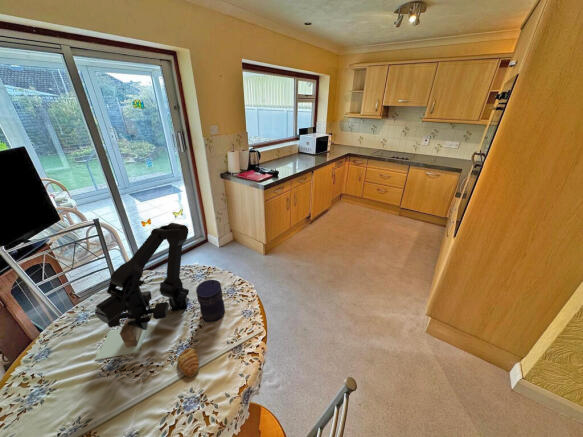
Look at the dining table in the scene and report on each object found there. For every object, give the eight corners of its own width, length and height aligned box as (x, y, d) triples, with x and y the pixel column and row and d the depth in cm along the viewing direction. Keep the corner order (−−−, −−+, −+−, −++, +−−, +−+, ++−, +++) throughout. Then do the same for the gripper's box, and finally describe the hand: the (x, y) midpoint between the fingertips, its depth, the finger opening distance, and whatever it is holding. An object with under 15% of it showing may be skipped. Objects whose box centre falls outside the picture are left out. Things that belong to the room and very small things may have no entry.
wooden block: (143, 329, 94) (137, 315, 90) (137, 345, 88) (131, 331, 84) (133, 331, 93) (127, 317, 89) (126, 347, 87) (119, 333, 83)
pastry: (204, 370, 81) (202, 363, 79) (184, 383, 77) (181, 376, 75) (195, 349, 87) (193, 343, 86) (176, 360, 84) (174, 354, 82)
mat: (148, 324, 96) (148, 323, 96) (138, 351, 86) (138, 351, 86) (110, 331, 93) (109, 330, 93) (95, 360, 83) (94, 359, 83)
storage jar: (216, 325, 96) (211, 299, 89) (196, 319, 99) (190, 293, 92) (229, 307, 105) (225, 282, 98) (211, 301, 107) (206, 277, 100)
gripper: (167, 280, 91) (175, 308, 98) (113, 287, 87) (126, 316, 94) (160, 301, 82) (170, 330, 89) (99, 311, 77) (114, 341, 85)
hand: (145, 329), depth 89 cm, fingers closed
